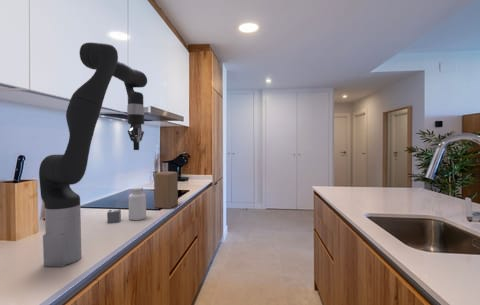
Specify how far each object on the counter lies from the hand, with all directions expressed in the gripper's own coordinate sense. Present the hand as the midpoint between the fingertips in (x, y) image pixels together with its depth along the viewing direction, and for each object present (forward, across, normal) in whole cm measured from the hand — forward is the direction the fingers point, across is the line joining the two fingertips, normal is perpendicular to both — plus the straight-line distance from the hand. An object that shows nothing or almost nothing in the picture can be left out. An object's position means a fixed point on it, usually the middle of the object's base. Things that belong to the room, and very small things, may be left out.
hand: (136, 150), depth 127 cm
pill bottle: (+34, 0, 0) cm, 34 cm away
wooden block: (+34, +24, -6) cm, 42 cm away
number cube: (+34, -5, +9) cm, 35 cm away
